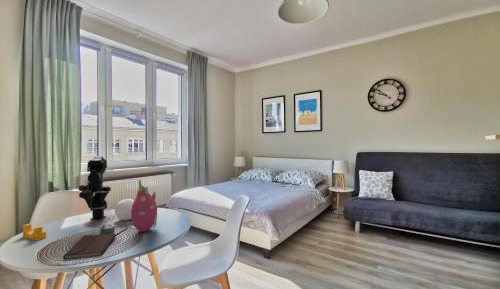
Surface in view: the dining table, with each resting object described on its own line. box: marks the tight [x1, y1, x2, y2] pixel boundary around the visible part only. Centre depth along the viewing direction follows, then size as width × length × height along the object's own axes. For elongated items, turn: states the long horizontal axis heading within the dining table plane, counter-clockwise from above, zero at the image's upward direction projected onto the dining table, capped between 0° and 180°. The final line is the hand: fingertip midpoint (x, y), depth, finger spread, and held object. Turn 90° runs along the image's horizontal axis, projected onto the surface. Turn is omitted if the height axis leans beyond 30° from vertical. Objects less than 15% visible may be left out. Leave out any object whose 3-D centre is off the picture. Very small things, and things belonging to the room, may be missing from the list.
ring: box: [99, 224, 115, 234], centre depth 130 cm, size 7×7×3 cm
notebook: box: [62, 234, 117, 260], centre depth 113 cm, size 15×20×2 cm
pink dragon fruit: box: [130, 179, 158, 233], centre depth 133 cm, size 18×14×30 cm
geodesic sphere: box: [114, 198, 135, 222], centre depth 153 cm, size 15×14×14 cm
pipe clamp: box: [22, 223, 47, 241], centre depth 124 cm, size 12×4×6 cm, turn 68°
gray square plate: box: [89, 226, 128, 236], centre depth 130 cm, size 14×14×4 cm
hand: (95, 205), depth 142 cm, fingers open, 9 cm apart
